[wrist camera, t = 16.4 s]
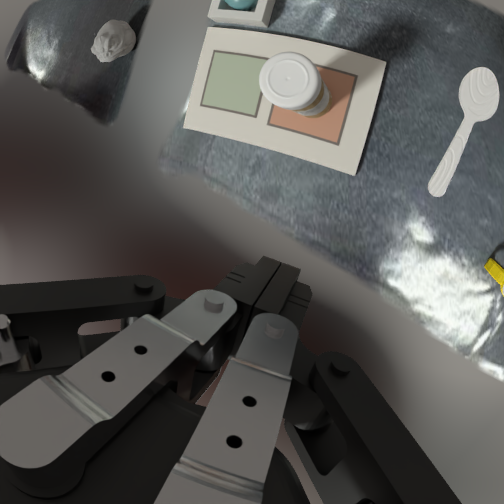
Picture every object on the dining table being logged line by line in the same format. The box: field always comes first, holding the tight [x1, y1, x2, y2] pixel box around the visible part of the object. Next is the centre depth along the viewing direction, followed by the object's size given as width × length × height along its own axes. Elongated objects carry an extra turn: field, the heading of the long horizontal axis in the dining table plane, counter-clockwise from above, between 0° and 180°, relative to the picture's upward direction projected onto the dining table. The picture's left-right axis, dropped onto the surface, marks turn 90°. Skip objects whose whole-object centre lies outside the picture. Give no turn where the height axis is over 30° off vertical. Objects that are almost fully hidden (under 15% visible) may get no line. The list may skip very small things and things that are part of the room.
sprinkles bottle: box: [259, 52, 332, 118], centre depth 27 cm, size 5×5×14 cm
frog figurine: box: [91, 20, 136, 62], centre depth 35 cm, size 6×7×7 cm
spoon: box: [428, 67, 499, 197], centre depth 29 cm, size 5×18×1 cm, turn 156°
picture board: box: [183, 27, 386, 176], centre depth 34 cm, size 22×14×1 cm, turn 75°
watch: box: [484, 258, 504, 296], centre depth 30 cm, size 6×3×6 cm, turn 61°
